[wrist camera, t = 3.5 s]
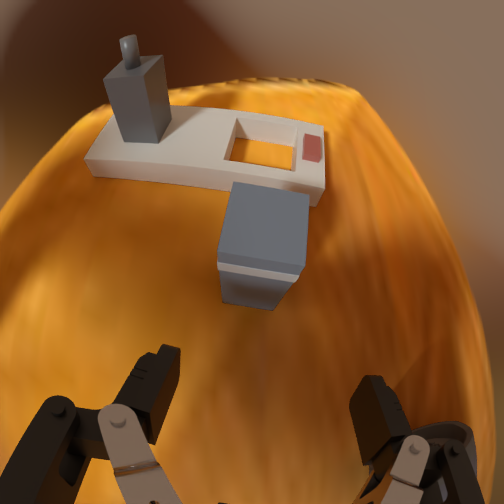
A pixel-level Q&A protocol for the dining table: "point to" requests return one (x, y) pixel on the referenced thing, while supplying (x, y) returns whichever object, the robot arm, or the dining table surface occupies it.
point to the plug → (262, 244)
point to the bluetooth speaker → (440, 435)
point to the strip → (194, 137)
